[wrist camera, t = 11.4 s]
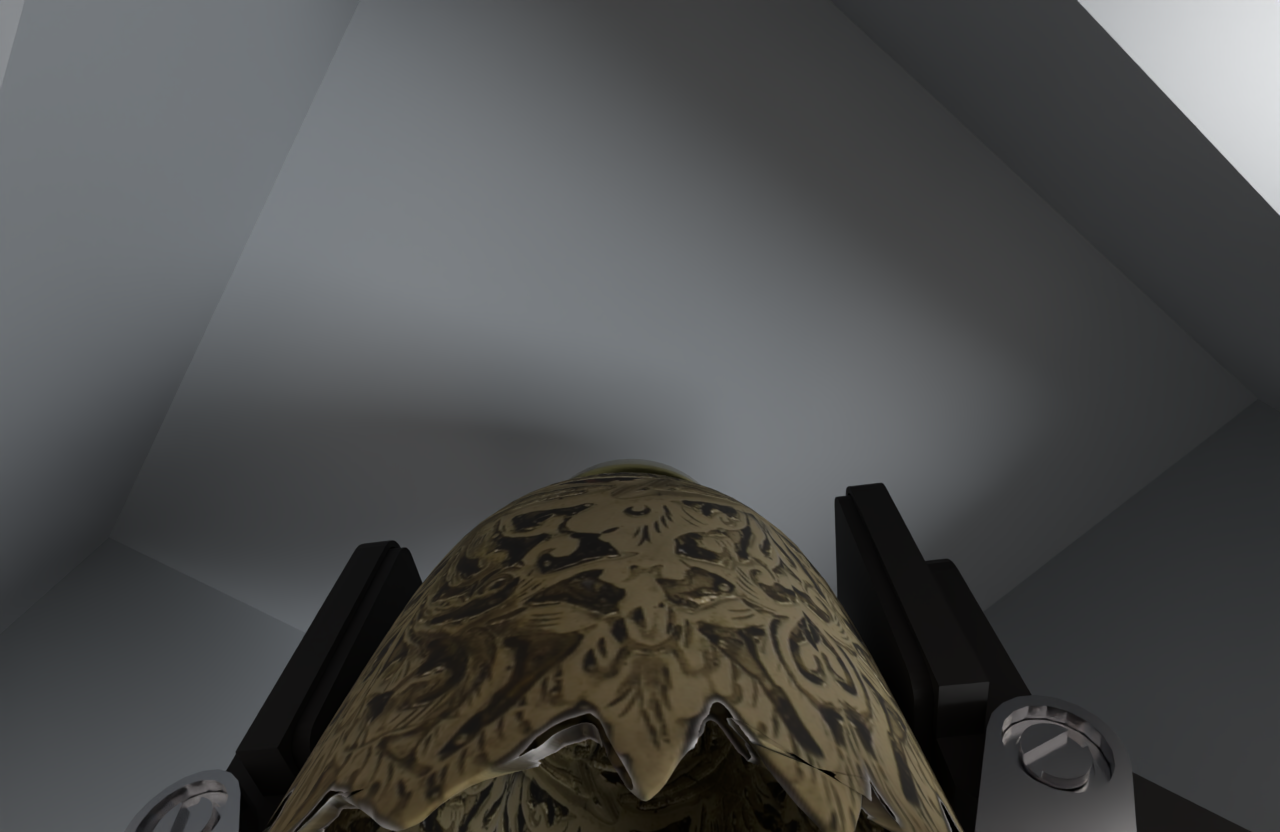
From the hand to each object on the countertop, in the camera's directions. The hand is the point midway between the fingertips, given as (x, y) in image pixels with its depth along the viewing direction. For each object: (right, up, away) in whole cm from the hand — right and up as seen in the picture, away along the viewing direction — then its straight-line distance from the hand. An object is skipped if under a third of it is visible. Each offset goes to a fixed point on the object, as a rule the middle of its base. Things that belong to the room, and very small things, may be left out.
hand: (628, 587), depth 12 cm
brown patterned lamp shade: (0, +1, +2) cm, 2 cm away
